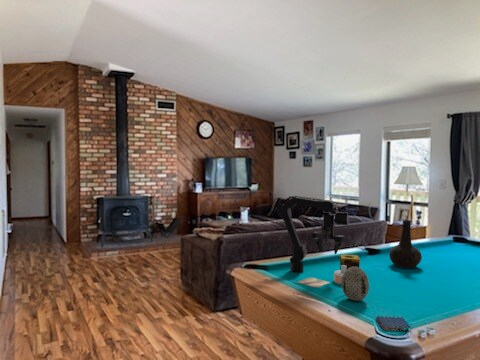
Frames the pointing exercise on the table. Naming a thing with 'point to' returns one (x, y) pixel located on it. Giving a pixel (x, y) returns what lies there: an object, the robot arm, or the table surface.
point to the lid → (341, 271)
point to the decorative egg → (355, 283)
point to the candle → (349, 261)
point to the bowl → (337, 279)
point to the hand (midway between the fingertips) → (327, 252)
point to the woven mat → (392, 323)
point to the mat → (313, 282)
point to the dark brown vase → (405, 249)
